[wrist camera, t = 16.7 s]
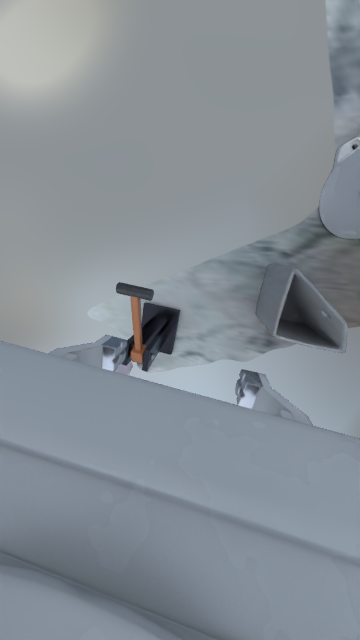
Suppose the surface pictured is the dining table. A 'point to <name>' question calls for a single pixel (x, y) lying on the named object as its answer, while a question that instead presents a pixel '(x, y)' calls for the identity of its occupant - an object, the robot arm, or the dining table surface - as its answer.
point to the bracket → (155, 333)
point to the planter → (299, 311)
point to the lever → (136, 316)
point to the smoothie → (124, 368)
